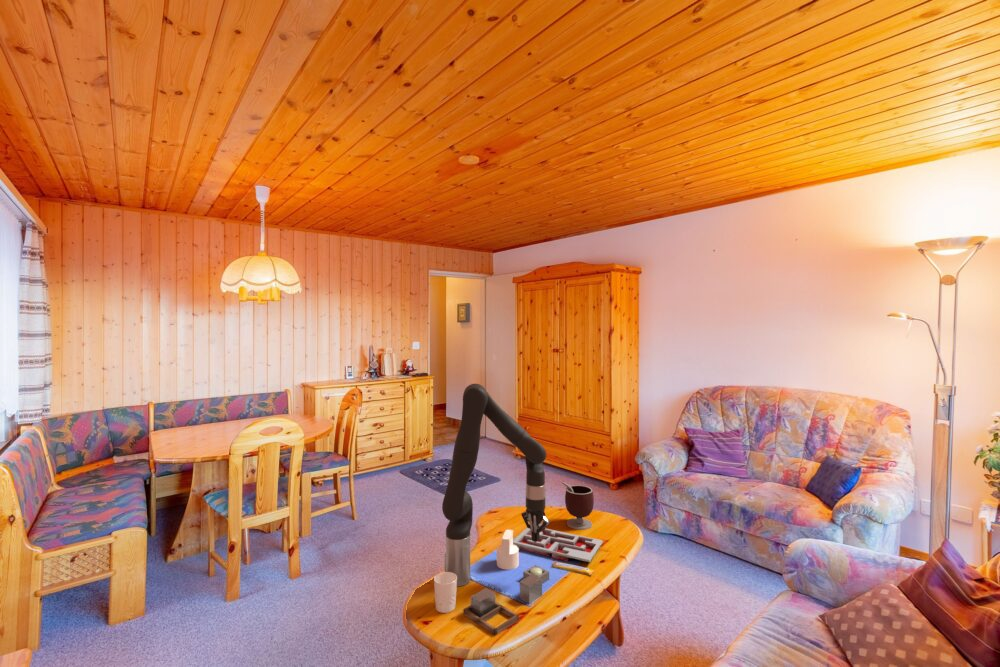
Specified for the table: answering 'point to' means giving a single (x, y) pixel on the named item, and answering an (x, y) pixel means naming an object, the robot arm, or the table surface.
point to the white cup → (445, 591)
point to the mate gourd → (579, 505)
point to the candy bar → (573, 568)
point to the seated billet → (482, 602)
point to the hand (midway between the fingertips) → (535, 541)
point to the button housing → (543, 576)
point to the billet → (530, 588)
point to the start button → (536, 571)
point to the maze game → (559, 544)
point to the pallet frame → (483, 619)
